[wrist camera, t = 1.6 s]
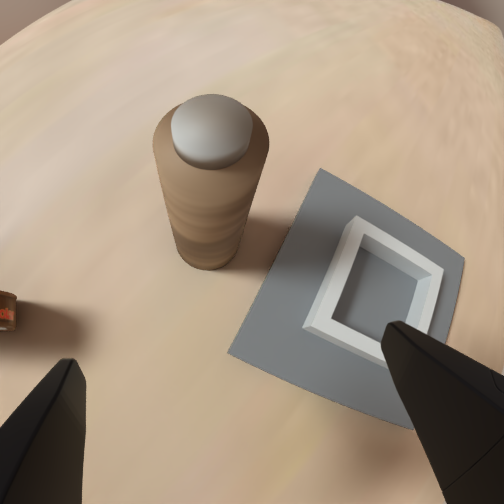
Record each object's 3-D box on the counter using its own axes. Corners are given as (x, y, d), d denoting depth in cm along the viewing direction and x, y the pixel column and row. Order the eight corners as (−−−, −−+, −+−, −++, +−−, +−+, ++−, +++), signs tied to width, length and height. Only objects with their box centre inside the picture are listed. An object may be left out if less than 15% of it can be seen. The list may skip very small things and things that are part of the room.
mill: (220, 281, 23) (238, 197, 10) (164, 251, 23) (124, 142, 10) (249, 227, 24) (292, 109, 12) (195, 200, 24) (193, 68, 12)
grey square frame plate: (406, 428, 21) (427, 434, 18) (227, 352, 21) (230, 353, 18) (458, 261, 26) (478, 251, 23) (316, 173, 26) (328, 154, 24)
